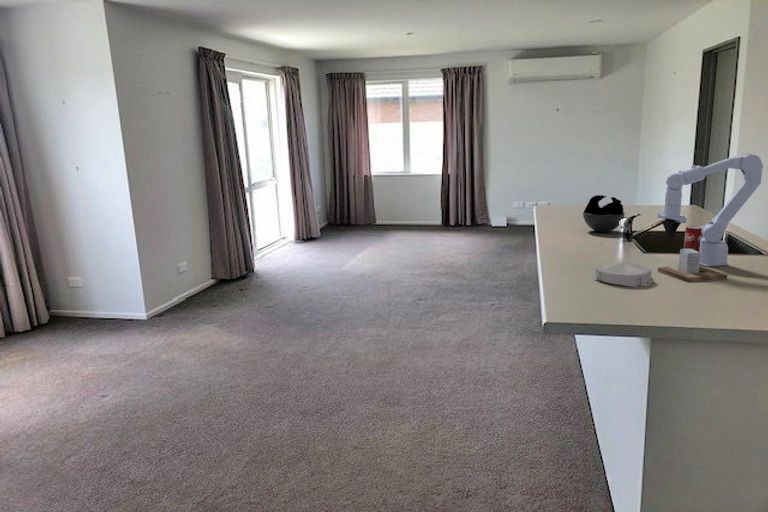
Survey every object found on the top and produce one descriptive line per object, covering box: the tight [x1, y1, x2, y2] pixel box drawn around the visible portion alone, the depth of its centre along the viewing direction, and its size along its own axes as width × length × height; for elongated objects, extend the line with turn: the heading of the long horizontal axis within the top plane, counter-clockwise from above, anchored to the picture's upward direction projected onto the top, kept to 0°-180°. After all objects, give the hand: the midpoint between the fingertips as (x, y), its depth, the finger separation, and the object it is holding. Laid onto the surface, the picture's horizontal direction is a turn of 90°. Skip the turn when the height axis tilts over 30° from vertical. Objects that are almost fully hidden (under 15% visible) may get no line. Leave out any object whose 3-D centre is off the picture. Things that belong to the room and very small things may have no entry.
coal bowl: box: [582, 194, 626, 233], centre depth 297 cm, size 20×20×19 cm
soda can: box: [683, 225, 704, 252], centre depth 241 cm, size 7×7×12 cm
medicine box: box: [678, 248, 701, 274], centre depth 212 cm, size 8×4×9 cm, turn 172°
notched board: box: [657, 265, 729, 283], centre depth 211 cm, size 16×16×2 cm
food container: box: [593, 261, 654, 288], centre depth 206 cm, size 20×20×7 cm
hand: (669, 238), depth 230 cm, fingers closed
